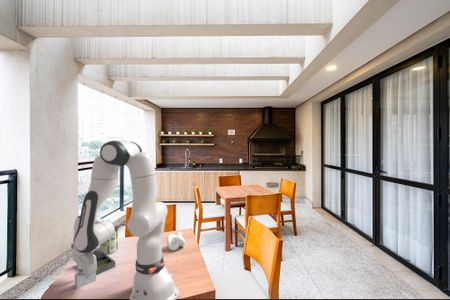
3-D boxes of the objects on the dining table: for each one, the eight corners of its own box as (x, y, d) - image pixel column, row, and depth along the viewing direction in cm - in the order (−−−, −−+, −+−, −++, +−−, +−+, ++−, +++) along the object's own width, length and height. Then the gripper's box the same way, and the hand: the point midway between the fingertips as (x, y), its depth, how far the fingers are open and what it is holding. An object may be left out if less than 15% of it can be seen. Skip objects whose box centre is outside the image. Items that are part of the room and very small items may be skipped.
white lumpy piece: (166, 244, 142) (166, 231, 142) (184, 242, 145) (184, 229, 145) (166, 252, 131) (166, 238, 131) (185, 250, 134) (185, 236, 134)
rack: (115, 266, 115) (115, 254, 115) (90, 277, 105) (90, 263, 105) (101, 256, 126) (101, 244, 125) (77, 265, 116) (77, 252, 116)
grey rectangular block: (95, 280, 103) (95, 268, 103) (76, 289, 96) (76, 276, 96) (93, 278, 105) (93, 266, 105) (74, 286, 98) (74, 274, 98)
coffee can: (106, 246, 138) (106, 225, 138) (121, 247, 137) (121, 226, 137) (95, 254, 128) (95, 231, 127) (111, 255, 127) (111, 232, 126)
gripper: (101, 251, 96) (100, 281, 97) (84, 238, 109) (83, 265, 109) (85, 257, 91) (84, 288, 92) (69, 243, 104) (69, 270, 104)
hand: (84, 275), depth 101 cm, fingers open, 8 cm apart
